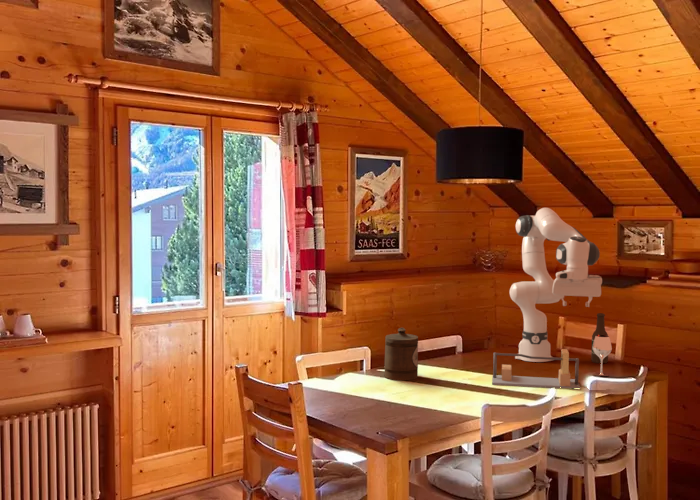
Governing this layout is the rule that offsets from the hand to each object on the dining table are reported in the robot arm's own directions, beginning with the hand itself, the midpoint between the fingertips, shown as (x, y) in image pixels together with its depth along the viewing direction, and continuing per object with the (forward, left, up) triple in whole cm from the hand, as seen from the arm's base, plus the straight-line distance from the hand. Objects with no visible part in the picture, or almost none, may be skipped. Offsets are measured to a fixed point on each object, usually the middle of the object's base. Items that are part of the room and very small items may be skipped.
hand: (576, 306), depth 308 cm
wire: (+8, -17, -22) cm, 29 cm away
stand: (+8, -17, -33) cm, 38 cm away
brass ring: (+10, -5, -27) cm, 29 cm away
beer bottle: (-42, +16, -33) cm, 56 cm away
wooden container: (+9, -75, -33) cm, 82 cm away
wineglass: (-13, +13, -33) cm, 38 cm away
